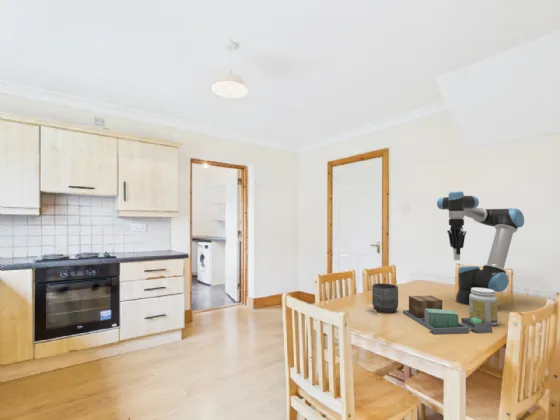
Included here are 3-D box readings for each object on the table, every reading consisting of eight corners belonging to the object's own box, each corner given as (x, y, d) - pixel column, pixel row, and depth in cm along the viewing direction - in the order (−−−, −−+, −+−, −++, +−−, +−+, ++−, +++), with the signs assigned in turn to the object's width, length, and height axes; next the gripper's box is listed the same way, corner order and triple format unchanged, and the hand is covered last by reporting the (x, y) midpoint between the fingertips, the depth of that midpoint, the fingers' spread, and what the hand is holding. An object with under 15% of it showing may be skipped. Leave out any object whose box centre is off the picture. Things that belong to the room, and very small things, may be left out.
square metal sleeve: (478, 325, 152) (478, 317, 153) (492, 332, 144) (492, 323, 144) (461, 326, 152) (461, 318, 152) (474, 332, 143) (474, 324, 143)
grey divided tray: (432, 313, 171) (432, 309, 171) (469, 333, 142) (469, 327, 142) (402, 314, 170) (402, 310, 170) (434, 334, 141) (433, 328, 141)
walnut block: (431, 313, 169) (430, 295, 169) (442, 319, 159) (442, 300, 159) (408, 314, 167) (408, 296, 168) (418, 320, 157) (418, 300, 158)
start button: (477, 325, 150) (477, 317, 150) (484, 328, 146) (483, 320, 146) (468, 325, 150) (468, 317, 150) (475, 329, 145) (475, 320, 145)
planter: (399, 309, 179) (398, 284, 179) (397, 316, 166) (397, 289, 166) (374, 306, 185) (374, 282, 185) (370, 313, 172) (370, 287, 172)
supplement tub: (490, 319, 163) (489, 287, 163) (502, 327, 151) (502, 292, 151) (465, 317, 165) (464, 286, 165) (475, 325, 153) (475, 291, 153)
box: (459, 329, 144) (458, 313, 144) (428, 327, 146) (428, 312, 147) (453, 324, 151) (452, 309, 152) (424, 322, 154) (423, 308, 154)
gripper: (442, 218, 179) (443, 258, 178) (457, 218, 166) (458, 261, 165) (454, 218, 180) (455, 258, 179) (470, 218, 167) (471, 261, 166)
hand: (456, 260), depth 172 cm, fingers closed
